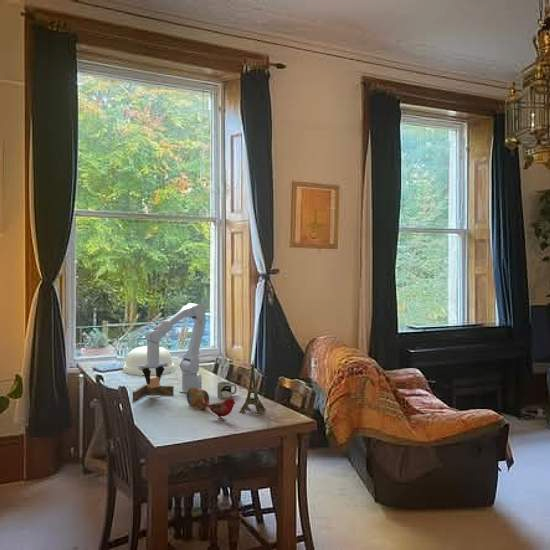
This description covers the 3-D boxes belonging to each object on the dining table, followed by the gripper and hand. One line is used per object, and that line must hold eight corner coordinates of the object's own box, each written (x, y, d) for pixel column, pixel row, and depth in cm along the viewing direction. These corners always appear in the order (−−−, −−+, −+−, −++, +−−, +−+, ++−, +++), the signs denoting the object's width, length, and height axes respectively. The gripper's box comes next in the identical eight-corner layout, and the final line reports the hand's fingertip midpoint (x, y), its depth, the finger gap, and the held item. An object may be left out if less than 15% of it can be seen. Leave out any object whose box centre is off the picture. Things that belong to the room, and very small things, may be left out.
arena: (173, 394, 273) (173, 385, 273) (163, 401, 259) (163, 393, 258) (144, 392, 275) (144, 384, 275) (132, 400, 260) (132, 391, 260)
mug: (221, 399, 265) (221, 385, 264) (215, 396, 270) (215, 382, 270) (239, 396, 270) (239, 383, 270) (233, 393, 276) (233, 380, 275)
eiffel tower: (238, 413, 241) (238, 356, 240) (242, 407, 251) (243, 352, 250) (262, 415, 239) (262, 357, 239) (265, 408, 250) (266, 353, 249)
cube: (155, 385, 270) (155, 375, 270) (159, 386, 267) (159, 377, 267) (146, 386, 268) (146, 376, 267) (150, 388, 264) (150, 378, 264)
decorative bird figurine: (233, 423, 226) (234, 399, 226) (198, 417, 235) (198, 393, 235) (237, 421, 229) (237, 397, 229) (202, 415, 237) (202, 392, 237)
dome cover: (131, 364, 346) (131, 342, 346) (179, 365, 346) (179, 343, 345) (116, 375, 314) (116, 351, 314) (168, 376, 314) (169, 351, 313)
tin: (186, 404, 255) (186, 386, 255) (192, 403, 257) (192, 385, 257) (204, 411, 244) (204, 392, 243) (210, 410, 246) (210, 391, 245)
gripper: (142, 357, 259) (142, 386, 260) (170, 354, 268) (170, 382, 269) (136, 355, 265) (136, 383, 265) (164, 352, 274) (163, 380, 274)
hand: (152, 383), depth 267 cm, fingers closed on cube, 4 cm apart
